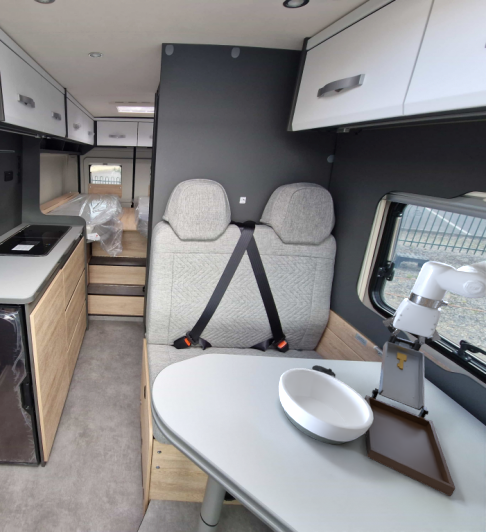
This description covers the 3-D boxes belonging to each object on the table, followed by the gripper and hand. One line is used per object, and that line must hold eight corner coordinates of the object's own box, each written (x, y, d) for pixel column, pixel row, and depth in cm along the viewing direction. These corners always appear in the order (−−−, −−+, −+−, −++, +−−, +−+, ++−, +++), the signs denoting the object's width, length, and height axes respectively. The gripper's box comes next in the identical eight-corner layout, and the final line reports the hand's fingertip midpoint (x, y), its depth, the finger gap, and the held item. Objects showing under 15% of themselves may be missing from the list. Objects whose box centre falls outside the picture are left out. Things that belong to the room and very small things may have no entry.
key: (397, 353, 102) (397, 352, 102) (406, 356, 101) (406, 355, 101) (396, 367, 99) (396, 366, 99) (405, 370, 98) (406, 369, 97)
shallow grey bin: (383, 338, 107) (387, 333, 105) (420, 350, 102) (424, 344, 100) (378, 394, 94) (382, 389, 92) (419, 410, 89) (425, 405, 87)
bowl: (278, 437, 80) (287, 412, 77) (269, 381, 101) (275, 360, 98) (377, 466, 75) (390, 441, 72) (346, 401, 95) (355, 379, 92)
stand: (367, 399, 97) (373, 387, 95) (421, 421, 90) (428, 408, 88) (368, 403, 95) (374, 390, 94) (422, 425, 89) (429, 412, 87)
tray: (363, 401, 96) (366, 394, 95) (428, 427, 88) (432, 421, 87) (367, 456, 77) (370, 449, 76) (450, 496, 69) (455, 488, 68)
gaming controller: (311, 365, 109) (328, 360, 106) (319, 378, 109) (337, 373, 106) (310, 380, 101) (329, 375, 98) (319, 394, 101) (338, 390, 98)
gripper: (457, 305, 96) (432, 353, 102) (389, 288, 104) (370, 334, 111) (464, 314, 90) (437, 365, 96) (391, 295, 98) (371, 343, 105)
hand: (401, 348), depth 103 cm, fingers closed on shallow grey bin, 5 cm apart
